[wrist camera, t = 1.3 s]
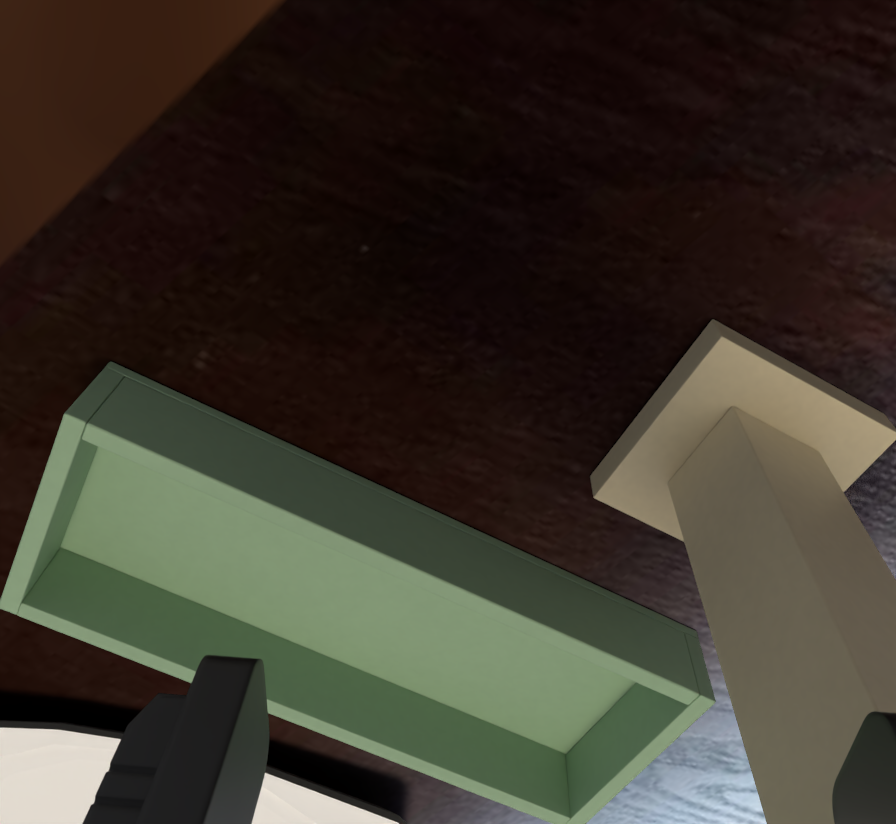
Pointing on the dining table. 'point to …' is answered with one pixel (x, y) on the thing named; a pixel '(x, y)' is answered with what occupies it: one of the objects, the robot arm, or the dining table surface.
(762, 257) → the dining table surface
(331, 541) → the tray
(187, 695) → the robot arm
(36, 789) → the plate
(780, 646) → the stand
